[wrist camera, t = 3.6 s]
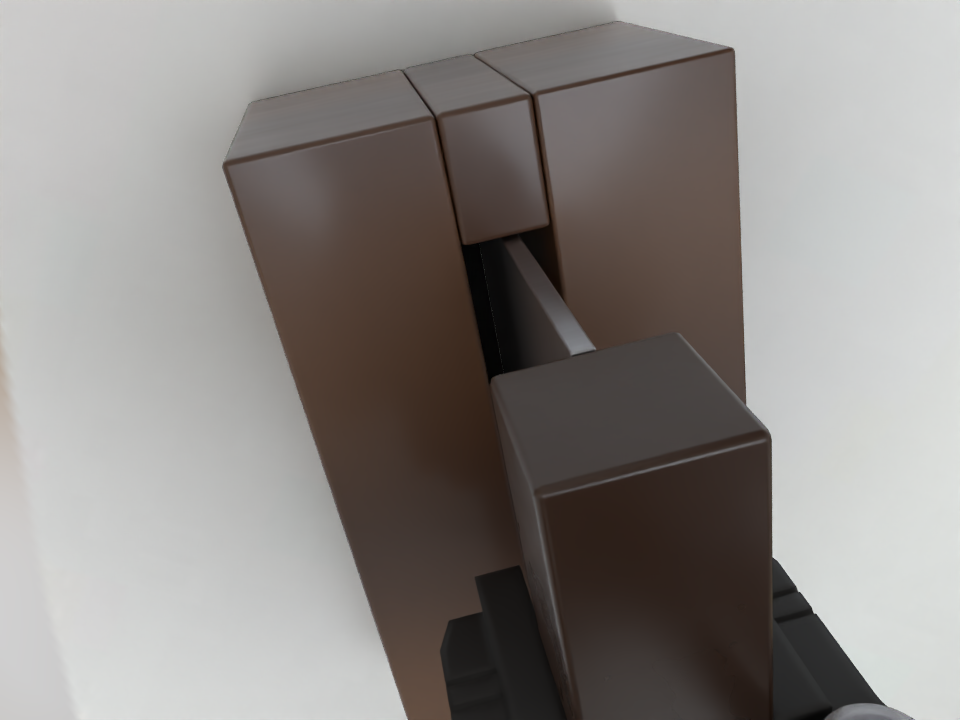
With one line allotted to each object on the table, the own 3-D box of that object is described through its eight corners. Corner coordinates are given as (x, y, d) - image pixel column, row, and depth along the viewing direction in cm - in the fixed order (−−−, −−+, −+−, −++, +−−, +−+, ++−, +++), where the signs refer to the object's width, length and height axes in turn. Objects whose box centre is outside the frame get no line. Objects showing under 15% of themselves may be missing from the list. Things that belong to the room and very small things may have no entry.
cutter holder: (247, 102, 15) (219, 162, 11) (621, 19, 16) (736, 45, 12) (415, 644, 22) (438, 814, 18) (672, 573, 23) (758, 722, 18)
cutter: (417, 196, 15) (533, 494, 7) (532, 170, 15) (775, 431, 7) (504, 590, 20) (633, 1037, 12) (592, 567, 20) (776, 992, 12)
